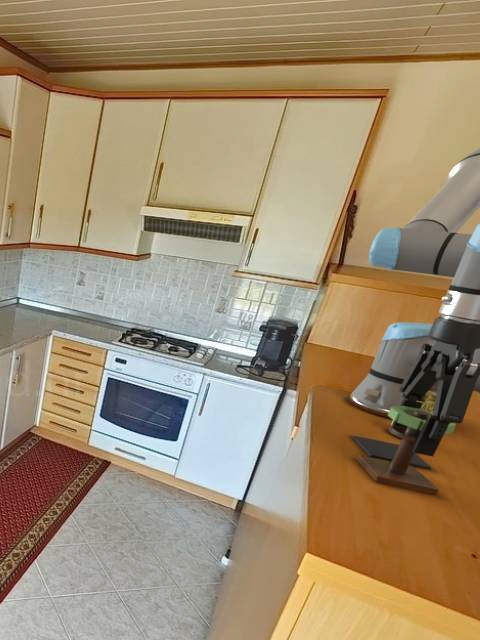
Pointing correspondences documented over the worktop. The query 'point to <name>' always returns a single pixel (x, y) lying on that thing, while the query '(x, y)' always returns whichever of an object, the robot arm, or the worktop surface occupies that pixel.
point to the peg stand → (400, 462)
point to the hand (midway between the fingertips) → (410, 442)
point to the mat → (386, 451)
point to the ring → (412, 418)
